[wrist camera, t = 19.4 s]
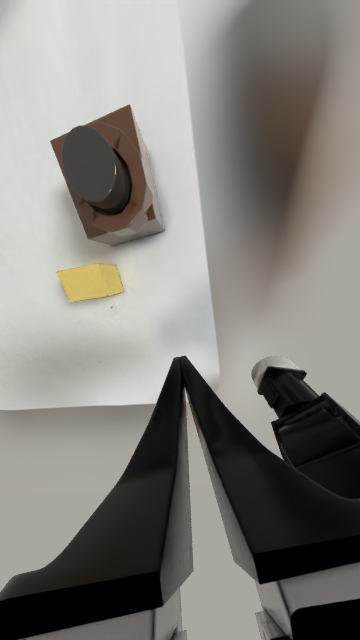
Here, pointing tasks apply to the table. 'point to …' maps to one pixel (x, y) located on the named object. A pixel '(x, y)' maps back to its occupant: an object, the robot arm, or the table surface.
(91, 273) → the yellow block
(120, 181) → the dark grey short cylinder
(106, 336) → the table surface
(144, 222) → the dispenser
